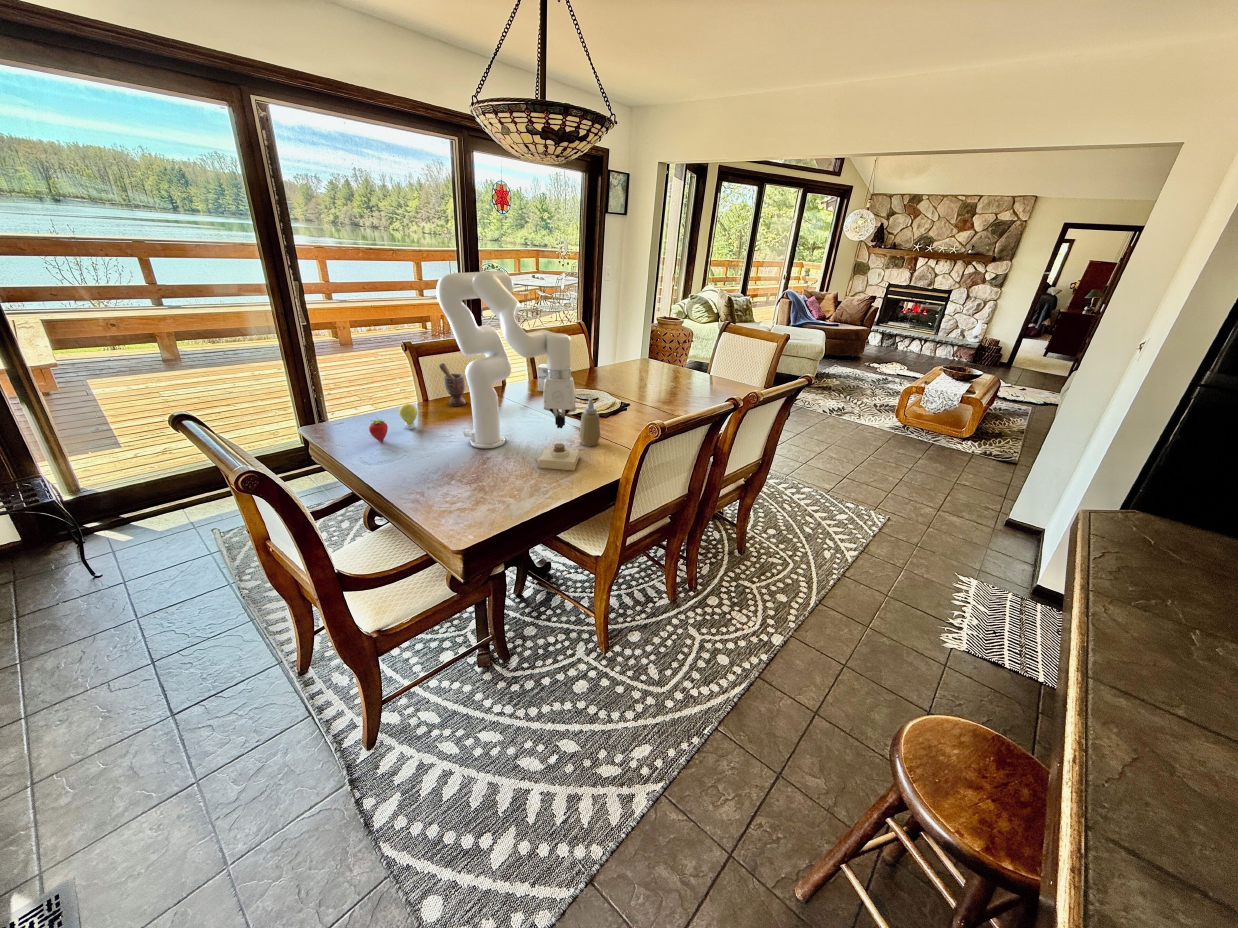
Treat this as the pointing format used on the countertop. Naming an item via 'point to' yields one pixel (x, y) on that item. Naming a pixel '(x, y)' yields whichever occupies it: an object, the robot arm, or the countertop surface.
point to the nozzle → (559, 447)
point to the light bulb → (408, 414)
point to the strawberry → (378, 429)
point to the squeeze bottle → (590, 425)
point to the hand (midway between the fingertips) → (560, 426)
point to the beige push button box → (559, 459)
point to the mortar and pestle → (454, 386)
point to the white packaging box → (541, 376)
